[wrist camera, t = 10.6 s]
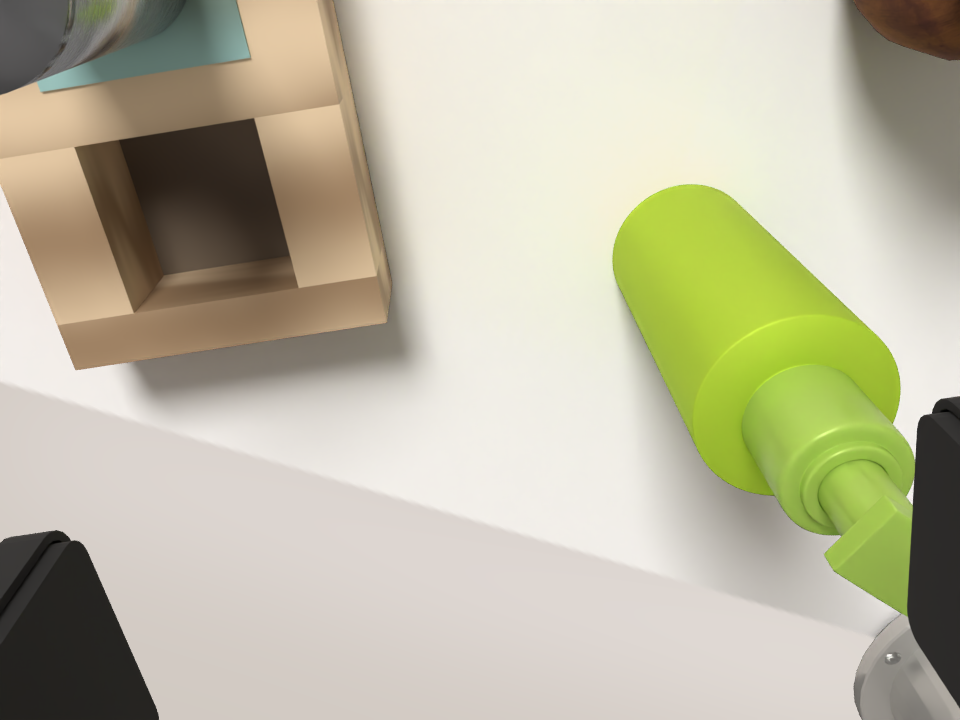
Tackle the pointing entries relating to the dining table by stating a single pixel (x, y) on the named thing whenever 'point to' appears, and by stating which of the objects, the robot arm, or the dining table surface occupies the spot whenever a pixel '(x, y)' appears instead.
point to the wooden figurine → (917, 24)
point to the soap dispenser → (773, 377)
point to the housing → (199, 187)
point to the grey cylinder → (72, 33)
